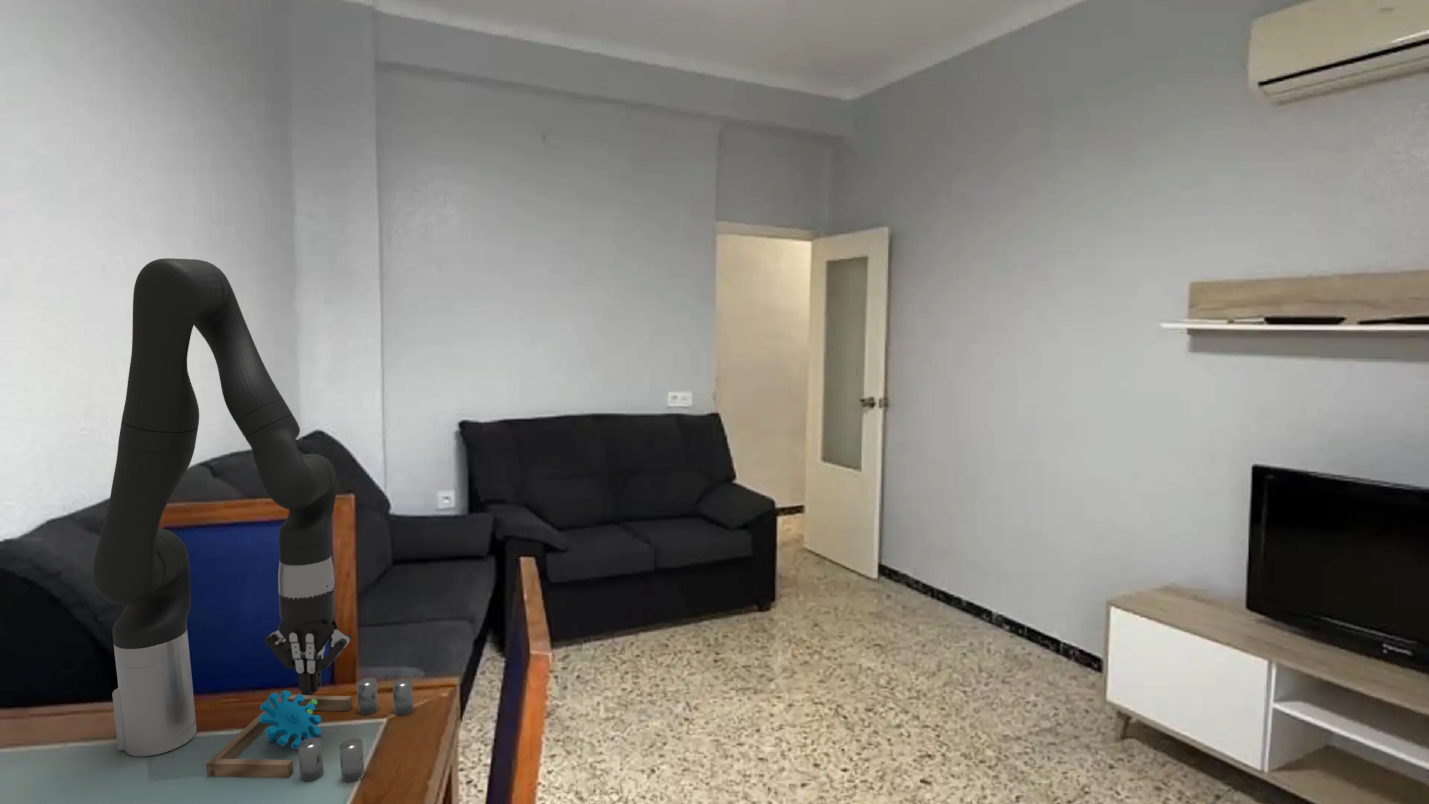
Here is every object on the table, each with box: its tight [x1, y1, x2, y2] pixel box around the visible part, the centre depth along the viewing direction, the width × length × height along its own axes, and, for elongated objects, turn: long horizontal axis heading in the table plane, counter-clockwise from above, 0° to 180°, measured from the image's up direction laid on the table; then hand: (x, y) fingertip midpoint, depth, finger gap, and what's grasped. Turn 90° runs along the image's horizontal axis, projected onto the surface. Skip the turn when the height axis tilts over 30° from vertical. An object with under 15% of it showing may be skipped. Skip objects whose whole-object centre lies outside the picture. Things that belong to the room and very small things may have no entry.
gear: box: [259, 689, 322, 750], centre depth 124 cm, size 11×6×10 cm
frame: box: [205, 694, 354, 779], centre depth 124 cm, size 12×19×2 cm, turn 179°
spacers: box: [297, 677, 414, 783], centre depth 124 cm, size 9×21×5 cm, turn 179°
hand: (310, 692), depth 123 cm, fingers closed
